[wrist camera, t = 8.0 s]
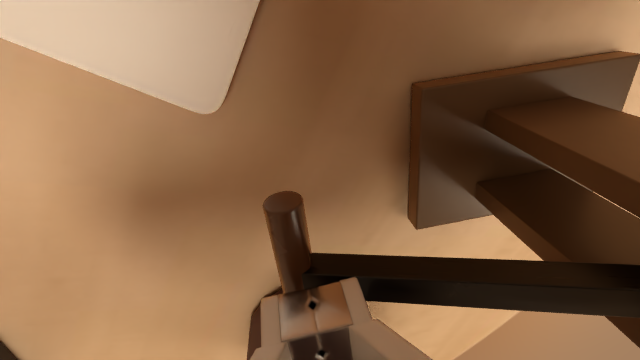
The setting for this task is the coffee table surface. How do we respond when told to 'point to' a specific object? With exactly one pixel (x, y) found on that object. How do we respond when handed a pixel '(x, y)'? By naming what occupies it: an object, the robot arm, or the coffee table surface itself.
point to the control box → (5, 353)
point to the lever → (450, 274)
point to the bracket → (534, 158)
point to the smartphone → (140, 42)
